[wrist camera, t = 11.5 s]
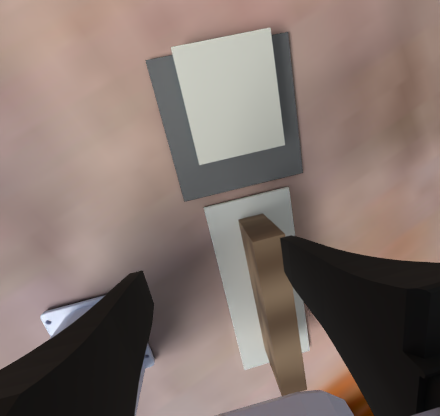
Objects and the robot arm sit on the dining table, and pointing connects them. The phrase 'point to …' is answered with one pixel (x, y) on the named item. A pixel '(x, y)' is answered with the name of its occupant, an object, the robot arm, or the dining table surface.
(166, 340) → the dining table surface
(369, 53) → the dining table surface
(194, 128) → the tile
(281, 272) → the bar
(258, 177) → the mat
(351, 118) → the dining table surface
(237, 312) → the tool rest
